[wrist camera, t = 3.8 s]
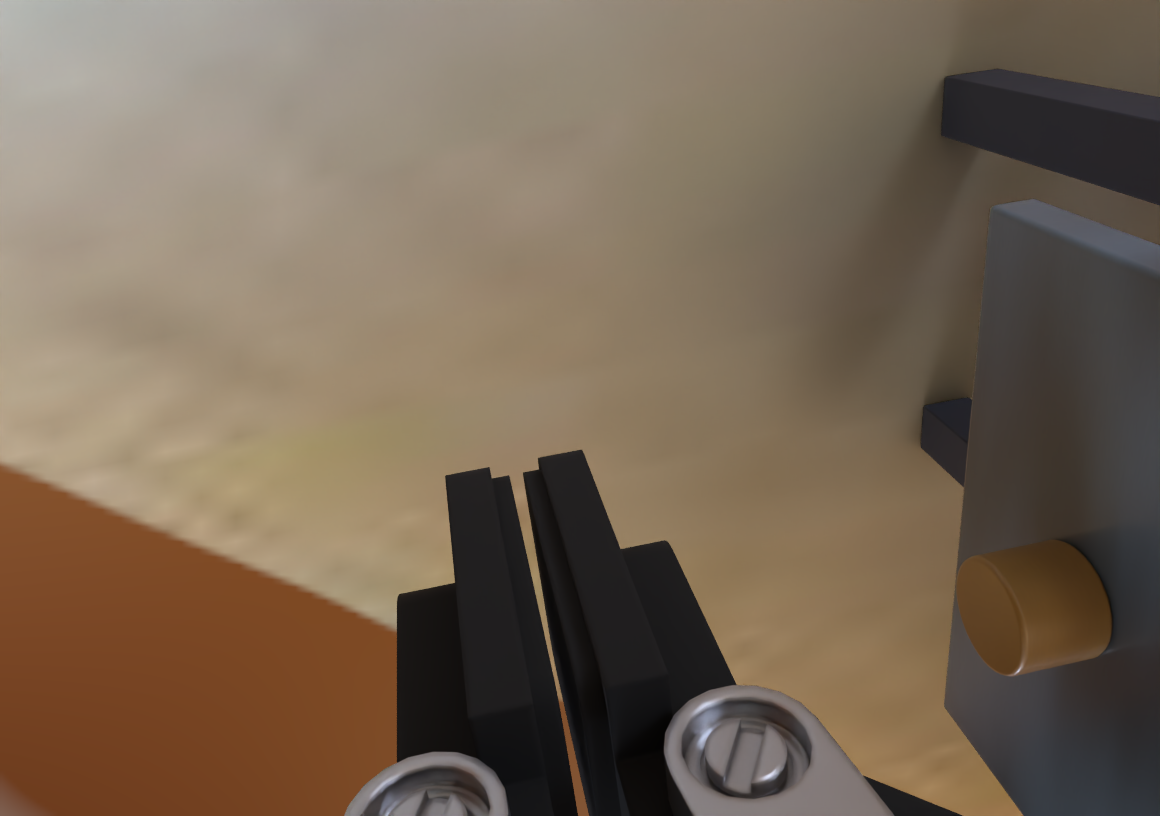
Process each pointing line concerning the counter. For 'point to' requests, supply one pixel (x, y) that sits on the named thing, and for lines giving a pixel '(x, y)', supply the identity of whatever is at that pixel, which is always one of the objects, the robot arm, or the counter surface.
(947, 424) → the drawer chest
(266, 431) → the counter surface
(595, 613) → the robot arm
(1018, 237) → the drawer
